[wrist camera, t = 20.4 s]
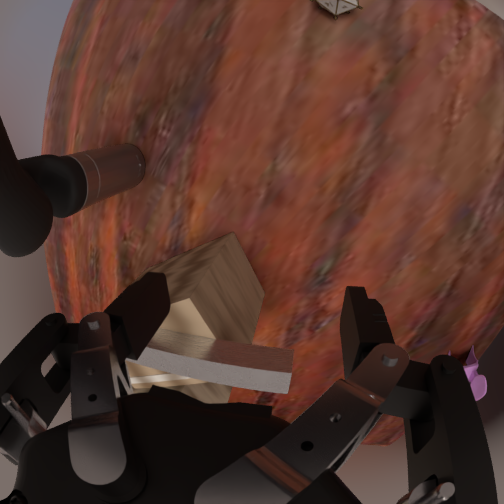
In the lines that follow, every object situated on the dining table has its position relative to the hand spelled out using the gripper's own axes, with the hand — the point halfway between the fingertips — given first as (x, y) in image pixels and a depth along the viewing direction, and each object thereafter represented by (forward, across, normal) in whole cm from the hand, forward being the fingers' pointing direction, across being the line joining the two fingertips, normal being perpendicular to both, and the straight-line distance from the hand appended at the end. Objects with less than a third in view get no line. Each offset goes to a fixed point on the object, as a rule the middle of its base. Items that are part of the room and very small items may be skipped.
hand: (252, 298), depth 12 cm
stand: (+38, -18, -30) cm, 52 cm away
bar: (+16, -10, -19) cm, 27 cm away
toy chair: (+38, +48, -42) cm, 74 cm away
